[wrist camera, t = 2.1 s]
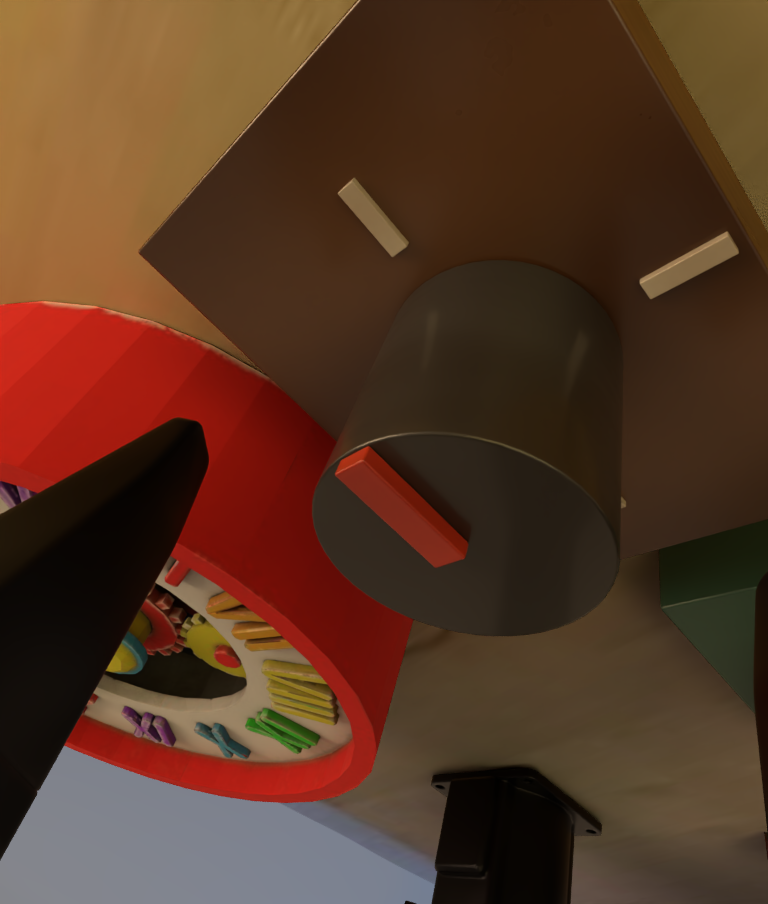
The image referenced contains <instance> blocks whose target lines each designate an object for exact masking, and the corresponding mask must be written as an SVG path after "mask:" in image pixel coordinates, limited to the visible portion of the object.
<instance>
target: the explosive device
mask: <svg viewBox="0 0 768 904" xmlns="http://www.w3.org/2000/svg"><path fill="white" fill-rule="evenodd" d="M764 834H765V842H766V850H767V858H768V833H765V832H764Z"/></svg>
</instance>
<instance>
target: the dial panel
mask: <svg viewBox="0 0 768 904" xmlns="http://www.w3.org/2000/svg"><path fill="white" fill-rule="evenodd" d="M139 254H140V255H141V256H142V257H143V258H144V259H145V260H146V261H148V262H149V263H150V264H151V265H152V266H153V267H154V268H155V269H156V270H157V271H158V272H159V273H160V274H161V275H162V276H163V277H164V278H165V279H166V280H167V281H169V282H170V283H171V284H172V285H173V286H174V287H175V288H176V289H177V290H178V291H179V292H180V293H181V294H182V295H183V296H184V297H185V298H186V299H187V300H188V301H190V302H191V303H192V304H193V305H194V306H195V307H196V308H197V309H198V310H199V311H200V312H201V313H202V314H203V315H204V316H205V317H206V318H207V319H208V320H209V321H211V322H212V323H213V324H214V325H215V326H216V327H217V328H218V329H219V330H220V331H221V332H222V333H223V334H224V335H225V336H226V337H227V338H228V339H229V340H230V341H232V342H233V343H234V344H235V345H236V346H237V347H238V348H239V349H240V350H241V351H242V352H243V353H244V354H245V355H246V356H247V357H248V358H249V359H250V360H251V361H253V362H254V363H255V364H256V365H257V366H258V367H259V368H260V369H261V370H262V371H263V372H264V373H265V374H266V375H267V376H268V377H269V378H270V379H271V380H272V381H274V382H275V383H276V384H277V385H278V386H279V387H280V388H281V389H282V390H283V391H284V392H285V393H286V394H287V395H288V396H289V397H290V398H291V399H292V400H293V401H295V402H296V403H297V404H298V405H299V406H300V407H301V408H302V409H303V410H304V411H305V412H306V413H307V414H308V415H309V416H310V417H311V418H312V419H313V420H314V421H315V422H317V423H318V424H319V425H320V426H321V427H322V428H323V429H324V430H325V431H326V432H327V433H328V434H329V435H330V436H331V437H332V438H333V439H334V440H335V441H336V442H337V441H338V439H339V436H340V434H341V432H342V430H343V428H344V426H345V424H346V422H347V419H348V417H349V415H350V413H351V411H352V409H353V407H354V405H355V402H356V400H357V398H358V396H359V394H360V392H361V390H362V388H363V385H364V383H365V381H366V379H367V377H368V375H369V373H370V371H371V368H372V366H373V364H374V362H375V360H376V358H377V356H378V354H379V351H380V349H381V347H382V345H383V343H384V341H385V339H386V337H387V334H388V332H389V330H390V328H391V326H392V324H393V322H394V319H395V317H396V315H397V313H398V311H399V310H400V308H401V307H402V305H403V304H404V302H405V301H406V300H407V298H408V297H409V296H410V295H411V294H412V293H413V292H414V291H415V290H416V289H417V288H419V287H420V286H421V285H422V284H424V283H425V282H426V281H428V280H429V279H431V278H433V277H434V276H436V275H438V274H439V273H442V272H444V271H447V270H449V269H451V268H454V267H457V266H461V265H464V264H468V263H473V262H479V261H486V260H508V261H518V262H524V263H529V264H533V265H538V266H541V267H543V268H546V269H549V270H552V271H554V272H556V273H558V274H560V275H562V276H564V277H566V278H568V279H570V280H572V281H573V282H575V283H576V284H578V285H579V286H580V287H582V288H583V289H584V290H586V291H587V292H588V293H589V294H590V295H591V296H592V297H593V298H595V299H596V301H597V302H598V303H599V304H600V305H601V306H602V308H603V309H604V310H605V311H606V313H607V314H608V316H609V318H610V319H611V321H612V322H613V324H614V326H615V329H616V331H617V333H618V336H619V339H620V343H621V347H622V352H623V415H622V476H621V537H620V560H622V559H626V558H629V557H633V556H636V555H640V554H644V553H647V552H651V551H655V550H658V549H662V548H665V547H669V546H673V545H676V544H680V543H683V542H687V541H691V540H694V539H698V538H702V537H705V536H709V535H712V534H716V533H720V532H723V531H727V530H731V529H734V528H738V527H741V526H745V525H749V524H752V523H756V522H759V521H763V520H767V519H768V232H767V230H766V228H765V227H764V225H763V223H762V221H761V219H760V218H759V216H758V214H757V212H756V211H755V209H754V207H753V205H752V203H751V202H750V200H749V198H748V196H747V195H746V193H745V191H744V189H743V187H742V186H741V184H740V182H739V180H738V179H737V177H736V175H735V173H734V171H733V170H732V168H731V166H730V164H729V163H728V161H727V159H726V157H725V155H724V154H723V152H722V150H721V148H720V147H719V145H718V143H717V141H716V140H715V138H714V136H713V134H712V132H711V131H710V129H709V127H708V125H707V124H706V122H705V120H704V118H703V116H702V115H701V113H700V111H699V109H698V108H697V106H696V104H695V102H694V100H693V99H692V97H691V95H690V93H689V92H688V90H687V88H686V86H685V84H684V83H683V81H682V79H681V77H680V76H679V74H678V72H677V70H676V68H675V67H674V65H673V63H672V61H671V60H670V58H669V56H668V54H667V52H666V51H665V49H664V47H663V45H662V44H661V42H660V40H659V38H658V36H657V35H656V33H655V31H654V29H653V28H652V26H651V24H650V22H649V21H648V19H647V17H646V15H645V13H644V12H643V10H642V8H641V6H640V5H639V3H638V1H637V0H357V1H356V2H355V3H354V4H353V6H352V7H351V8H350V9H349V10H348V11H347V12H346V14H345V15H344V16H343V17H342V18H341V19H340V20H339V22H338V23H337V24H336V25H335V26H334V27H333V28H332V30H331V31H330V32H329V33H328V34H327V35H326V36H325V38H324V39H323V40H322V41H321V42H320V43H319V45H318V46H317V47H316V48H315V49H314V50H313V51H312V53H311V54H310V55H309V56H308V57H307V58H306V59H305V61H304V62H303V63H302V64H301V65H300V66H299V67H298V69H297V70H296V71H295V72H294V73H293V74H292V75H291V77H290V78H289V79H288V80H287V81H286V82H285V83H284V85H283V86H282V87H281V88H280V89H279V90H278V91H277V93H276V94H275V95H274V96H273V97H272V98H271V99H270V101H269V102H268V103H267V104H266V105H265V106H264V107H263V109H262V110H261V111H260V112H259V113H258V114H257V116H256V117H255V118H254V119H253V120H252V121H251V122H250V124H249V125H248V126H247V127H246V128H245V129H244V130H243V132H242V133H241V134H240V135H239V136H238V137H237V138H236V140H235V141H234V142H233V143H232V144H231V145H230V146H229V148H228V149H227V150H226V151H225V152H224V153H223V154H222V156H221V157H220V158H219V159H218V160H217V161H216V162H215V164H214V165H213V166H212V167H211V168H210V169H209V170H208V172H207V173H206V174H205V175H204V176H203V177H202V179H201V180H200V181H199V182H198V183H197V184H196V185H195V187H194V188H193V189H192V190H191V191H190V192H189V193H188V195H187V196H186V197H185V198H184V199H183V200H182V201H181V203H180V204H179V205H178V206H177V207H176V208H175V209H174V211H173V212H172V213H171V214H170V215H169V216H168V217H167V219H166V220H165V221H164V222H163V223H162V224H161V225H160V227H159V228H158V229H157V230H156V231H155V232H154V233H153V235H152V236H151V237H150V238H149V239H148V240H147V241H146V243H145V244H144V245H143V246H142V247H141V248H140V250H139Z"/></svg>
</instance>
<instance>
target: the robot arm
mask: <svg viewBox="0 0 768 904" xmlns="http://www.w3.org/2000/svg"><path fill="white" fill-rule="evenodd" d="M208 465H209V454H208V449H207V445H206V440H205V436H204V431H203V427H202V425H201V424H200V423H199V422H198V421H195V420H190V419H186V418H181V417H176V418H173V419H171V420H169V421H167V422H165V423H163V424H162V425H160V426H158V427H156V428H154V429H153V430H151V431H149V432H147V433H145V434H144V435H142V436H140V437H138V438H136V439H135V440H133V441H131V442H129V443H127V444H126V445H124V446H122V447H120V448H118V449H117V450H115V451H113V452H111V453H109V454H108V455H106V456H104V457H102V458H100V459H99V460H97V461H95V462H93V463H91V464H90V465H88V466H86V467H84V468H82V469H81V470H79V471H77V472H75V473H73V474H72V475H70V476H68V477H66V478H64V479H63V480H61V481H59V482H57V483H55V484H54V485H52V486H50V487H48V488H46V489H45V490H43V491H41V492H39V493H37V494H36V495H34V496H32V497H30V498H28V499H27V500H25V501H23V502H21V503H19V504H18V505H16V506H14V507H12V508H10V509H9V510H7V511H5V512H3V513H1V514H0V860H1V858H2V856H3V854H4V853H5V851H6V849H7V847H8V846H9V844H10V842H11V840H12V838H13V837H14V835H15V833H16V831H17V829H18V827H19V826H20V824H21V822H22V820H23V819H24V817H25V815H26V813H27V811H28V810H29V808H30V806H31V804H32V803H33V801H34V799H35V797H36V796H37V791H38V790H39V789H40V788H41V786H42V784H43V782H44V780H45V779H46V777H47V775H48V773H49V772H50V770H51V768H52V766H53V764H54V763H55V761H56V759H57V757H58V755H59V754H60V752H61V750H62V748H63V746H64V745H65V743H66V741H67V739H68V738H69V736H70V734H71V732H72V730H73V729H74V727H75V725H76V723H77V721H78V720H79V718H80V716H81V714H82V713H83V711H84V709H85V707H86V705H87V704H88V702H89V700H90V698H91V696H92V695H93V693H94V691H95V689H96V688H97V686H98V684H99V682H100V680H101V679H102V677H103V675H104V673H105V671H106V670H107V668H108V666H109V664H110V662H111V661H112V659H113V657H114V655H115V654H116V652H117V650H118V648H119V646H120V645H121V643H122V641H123V639H124V637H125V636H126V634H127V632H128V630H129V629H130V627H131V625H132V623H133V621H134V620H135V618H136V616H137V614H138V612H139V611H140V609H141V607H142V605H143V603H144V602H145V600H146V598H147V596H148V595H149V593H150V591H151V589H152V587H153V586H154V584H155V582H156V580H157V578H158V577H159V575H160V573H161V571H162V570H163V568H164V566H165V564H166V562H167V561H168V559H169V557H170V555H171V553H172V551H173V549H174V547H175V545H176V543H177V541H178V539H179V536H180V534H181V532H182V529H183V527H184V525H185V522H186V520H187V517H188V515H189V513H190V510H191V508H192V505H193V503H194V501H195V498H196V496H197V493H198V491H199V489H200V486H201V484H202V481H203V479H204V477H205V474H206V472H207V469H208ZM753 693H754V706H755V716H756V726H757V736H758V745H759V755H760V764H761V774H762V784H763V793H764V803H765V812H766V822H767V832H768V571H767V572H766V573H765V575H764V576H763V577H762V579H761V580H760V582H759V584H758V586H757V589H756V595H755V631H754V671H753ZM431 786H432V787H433V788H435V789H436V790H438V791H439V792H440V793H442V794H443V795H445V796H446V797H447V802H446V807H445V812H444V818H443V823H442V828H441V834H440V839H439V844H438V850H437V855H436V860H435V869H436V871H437V877H436V882H435V888H434V893H433V899H432V904H571V886H572V868H573V851H574V836H599V835H601V833H602V824H601V823H600V822H599V821H597V820H596V819H595V818H594V817H592V816H591V815H590V814H589V813H587V812H586V811H585V810H584V809H583V808H581V807H580V806H579V805H578V804H576V803H575V802H574V801H573V800H571V799H570V798H569V797H568V796H567V795H565V794H564V793H563V792H562V791H560V790H559V789H558V788H557V787H555V786H554V785H553V784H552V783H550V782H549V781H548V780H547V779H546V778H544V777H543V776H542V775H541V774H539V773H538V772H536V771H535V770H532V769H528V768H520V769H506V770H493V771H479V772H465V773H452V774H438V775H433V776H432V781H431ZM405 904H416V903H413V902H409V901H405Z"/></svg>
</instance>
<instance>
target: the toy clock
mask: <svg viewBox="0 0 768 904" xmlns="http://www.w3.org/2000/svg"><path fill="white" fill-rule="evenodd" d="M176 417H181V418H186V419H190V420H195V421H198V422H199V423H200V424H201V425H202V427H203V431H204V436H205V440H206V445H207V449H208V454H209V465H208V469H207V472H206V474H205V477H204V479H203V481H202V484H201V486H200V489H199V491H198V493H197V496H196V498H195V501H194V503H193V505H192V508H191V510H190V513H189V515H188V517H187V520H186V522H185V525H184V527H183V529H182V532H181V534H180V536H179V539H178V541H177V543H176V545H175V547H174V549H173V551H172V553H171V555H170V557H169V559H168V561H167V562H166V564H165V566H164V568H163V570H162V571H161V573H160V575H159V577H158V578H157V580H156V582H155V584H154V586H153V587H152V589H151V591H150V593H149V595H148V596H147V598H146V600H145V602H144V603H143V605H142V607H141V609H140V611H139V612H138V614H137V616H136V618H135V620H134V621H133V623H132V625H131V627H130V629H129V630H128V632H127V634H126V636H125V637H124V639H123V641H122V643H121V645H120V646H119V648H118V650H117V652H116V654H115V655H114V657H113V659H112V661H111V662H110V664H109V666H108V668H107V670H106V671H105V673H104V675H103V677H102V679H101V680H100V682H99V684H98V686H97V688H96V689H95V691H94V693H93V695H92V696H91V698H90V700H89V702H88V704H87V705H86V707H85V709H84V711H83V713H82V714H81V716H80V718H79V720H78V721H77V723H76V725H75V727H74V729H73V730H72V732H71V734H70V736H69V738H68V739H67V741H66V743H65V745H64V746H67V747H69V748H71V749H73V750H76V751H78V752H81V753H83V754H86V755H88V756H91V757H93V758H96V759H99V760H101V761H104V762H106V763H109V764H112V765H114V766H117V767H120V768H123V769H126V770H129V771H132V772H134V773H137V774H140V775H143V776H146V777H149V778H152V779H156V780H159V781H162V782H166V783H170V784H173V785H176V786H180V787H184V788H188V789H192V790H196V791H201V792H205V793H209V794H214V795H218V796H225V797H231V798H237V799H245V800H251V801H262V802H279V803H293V802H313V801H318V800H323V799H327V798H332V797H337V796H339V795H341V794H343V793H345V792H347V791H349V790H352V789H354V788H356V787H357V786H358V785H359V784H360V783H361V782H362V781H363V780H364V779H365V778H366V777H367V776H368V775H369V774H370V773H371V771H372V767H373V764H374V760H375V757H376V754H377V750H378V746H379V743H380V739H381V735H382V732H383V728H384V724H385V721H386V717H387V714H388V710H389V706H390V703H391V699H392V695H393V692H394V688H395V684H396V681H397V677H398V674H399V670H400V666H401V663H402V659H403V655H404V652H405V648H406V644H407V641H408V637H409V634H410V630H411V626H412V623H413V619H411V618H409V617H407V616H404V615H402V614H400V613H398V612H395V611H393V610H392V609H390V608H388V607H386V606H384V605H382V604H380V603H379V602H377V601H376V600H374V599H373V598H371V597H369V596H368V595H366V594H365V593H364V592H362V591H361V590H360V589H358V588H357V587H356V586H355V585H353V584H352V583H351V582H350V581H349V580H348V579H347V578H346V577H345V576H344V575H343V574H342V573H341V572H340V571H339V570H338V569H337V568H336V567H335V565H334V564H333V563H332V562H331V560H330V559H329V557H328V556H327V555H326V553H325V552H324V550H323V548H322V546H321V544H320V542H319V540H318V537H317V535H316V532H315V529H314V524H313V518H312V500H313V495H314V491H315V488H316V485H317V483H318V481H319V479H320V477H321V475H322V473H323V471H324V468H325V466H326V464H327V462H328V460H329V458H330V456H331V453H332V451H333V449H334V447H335V445H336V443H337V442H336V441H335V440H334V439H333V438H332V437H331V436H330V435H329V434H328V433H327V432H326V431H325V430H324V429H323V428H322V427H321V426H320V425H319V424H318V423H317V422H315V421H314V420H313V419H312V418H311V417H310V416H309V415H308V414H307V413H306V412H305V411H304V410H303V409H302V408H301V407H300V406H299V405H298V404H297V403H296V402H295V401H293V400H292V399H291V398H290V397H289V396H288V395H287V394H286V393H285V392H284V391H283V390H282V389H281V388H280V387H279V386H278V385H277V384H276V383H275V382H274V381H272V380H271V379H270V378H269V377H268V376H266V375H264V374H262V373H261V372H259V371H257V370H255V369H253V368H252V367H250V366H248V365H246V364H245V363H243V362H241V361H239V360H237V359H236V358H234V357H232V356H230V355H229V354H227V353H225V352H223V351H221V350H220V349H218V348H216V347H214V346H213V345H210V344H208V343H205V342H203V341H201V340H198V339H196V338H193V337H191V336H188V335H186V334H183V333H181V332H179V331H176V330H174V329H171V328H169V327H166V326H164V325H162V324H159V323H157V322H154V321H151V320H147V319H143V318H139V317H135V316H132V315H128V314H124V313H120V312H116V311H112V310H109V309H105V308H101V307H97V306H89V305H79V304H69V303H59V302H49V301H37V302H26V303H15V304H4V305H0V514H1V513H3V512H5V511H7V510H9V509H10V508H12V507H14V506H16V505H18V504H19V503H21V502H23V501H25V500H27V499H28V498H30V497H32V496H34V495H36V494H37V493H39V492H41V491H43V490H45V489H46V488H48V487H50V486H52V485H54V484H55V483H57V482H59V481H61V480H63V479H64V478H66V477H68V476H70V475H72V474H73V473H75V472H77V471H79V470H81V469H82V468H84V467H86V466H88V465H90V464H91V463H93V462H95V461H97V460H99V459H100V458H102V457H104V456H106V455H108V454H109V453H111V452H113V451H115V450H117V449H118V448H120V447H122V446H124V445H126V444H127V443H129V442H131V441H133V440H135V439H136V438H138V437H140V436H142V435H144V434H145V433H147V432H149V431H151V430H153V429H154V428H156V427H158V426H160V425H162V424H163V423H165V422H167V421H169V420H171V419H173V418H176Z"/></svg>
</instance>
